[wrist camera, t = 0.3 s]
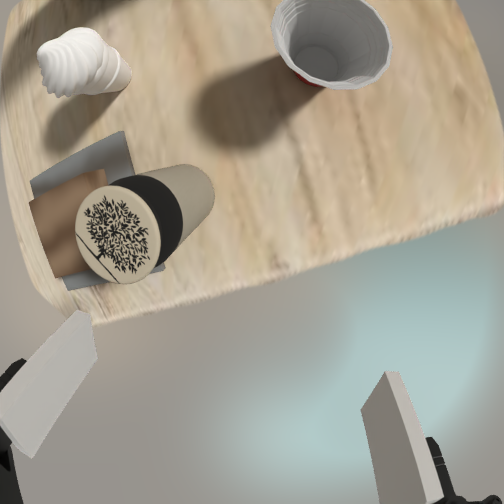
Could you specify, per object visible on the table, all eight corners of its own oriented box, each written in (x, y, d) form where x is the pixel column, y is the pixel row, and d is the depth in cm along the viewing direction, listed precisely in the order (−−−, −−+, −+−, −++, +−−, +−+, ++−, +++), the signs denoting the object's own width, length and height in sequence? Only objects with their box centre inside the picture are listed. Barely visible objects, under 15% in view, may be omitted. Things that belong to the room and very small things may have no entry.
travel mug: (192, 151, 34) (119, 159, 17) (227, 204, 36) (184, 256, 19) (145, 187, 36) (57, 223, 19) (178, 236, 38) (112, 303, 21)
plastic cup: (314, 125, 32) (334, 113, 20) (253, 62, 29) (243, 25, 18) (376, 77, 28) (417, 51, 17) (317, 17, 26) (333, -30, 15)
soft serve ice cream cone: (156, 76, 30) (86, 43, 15) (111, 117, 33) (29, 113, 18) (128, 40, 28) (58, 2, 13) (86, 80, 31) (7, 65, 16)
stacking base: (33, 179, 36) (9, 186, 31) (123, 131, 33) (99, 130, 28) (70, 288, 43) (51, 304, 37) (165, 267, 40) (149, 287, 34)
